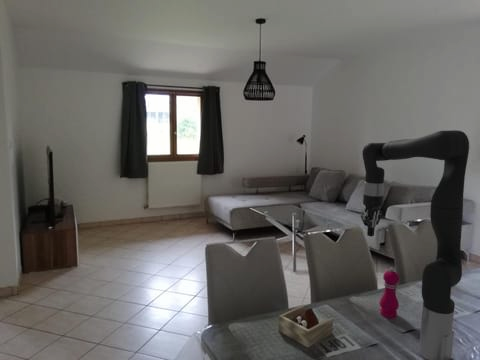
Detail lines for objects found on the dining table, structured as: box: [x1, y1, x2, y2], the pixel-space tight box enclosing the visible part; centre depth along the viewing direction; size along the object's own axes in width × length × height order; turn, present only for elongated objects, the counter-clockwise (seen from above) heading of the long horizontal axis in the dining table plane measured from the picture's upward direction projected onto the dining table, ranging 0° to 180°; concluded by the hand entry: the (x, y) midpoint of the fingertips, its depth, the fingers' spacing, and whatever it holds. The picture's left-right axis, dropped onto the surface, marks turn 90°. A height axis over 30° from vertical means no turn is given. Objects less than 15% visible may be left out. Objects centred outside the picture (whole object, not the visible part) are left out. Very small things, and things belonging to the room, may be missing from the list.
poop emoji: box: [296, 307, 320, 329], centre depth 147 cm, size 10×8×9 cm
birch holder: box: [278, 304, 334, 348], centre depth 145 cm, size 14×14×6 cm
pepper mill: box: [379, 267, 400, 319], centre depth 158 cm, size 7×7×20 cm
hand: (370, 235), depth 158 cm, fingers closed
